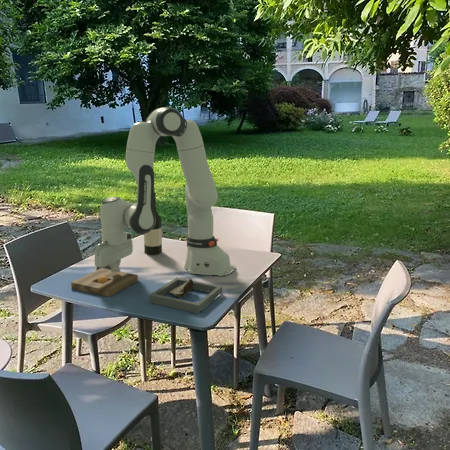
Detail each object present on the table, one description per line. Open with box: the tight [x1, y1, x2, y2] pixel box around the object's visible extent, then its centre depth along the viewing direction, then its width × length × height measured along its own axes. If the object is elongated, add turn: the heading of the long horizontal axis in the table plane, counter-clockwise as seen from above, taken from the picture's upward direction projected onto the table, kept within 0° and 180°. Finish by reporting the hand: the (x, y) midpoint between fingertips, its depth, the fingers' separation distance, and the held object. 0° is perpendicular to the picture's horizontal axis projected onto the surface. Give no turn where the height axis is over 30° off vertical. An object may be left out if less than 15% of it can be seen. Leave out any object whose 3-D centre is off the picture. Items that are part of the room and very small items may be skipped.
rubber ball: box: [98, 276, 108, 284], centre depth 174 cm, size 4×4×4 cm
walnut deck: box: [70, 267, 139, 298], centre depth 176 cm, size 18×18×2 cm
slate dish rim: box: [148, 277, 223, 314], centre depth 165 cm, size 20×19×3 cm
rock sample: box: [168, 277, 194, 299], centre depth 167 cm, size 10×8×9 cm
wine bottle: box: [143, 191, 163, 256], centre depth 213 cm, size 8×8×30 cm
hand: (115, 271), depth 180 cm, fingers closed
